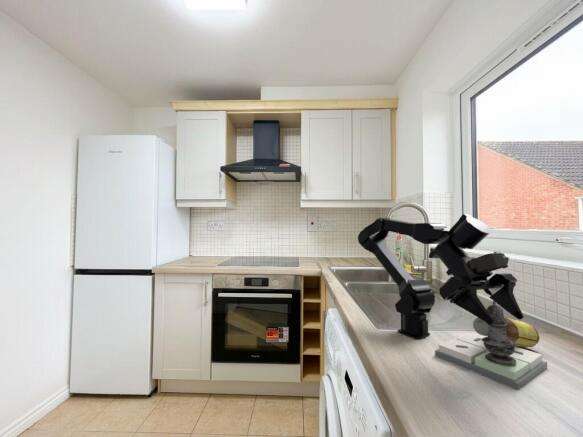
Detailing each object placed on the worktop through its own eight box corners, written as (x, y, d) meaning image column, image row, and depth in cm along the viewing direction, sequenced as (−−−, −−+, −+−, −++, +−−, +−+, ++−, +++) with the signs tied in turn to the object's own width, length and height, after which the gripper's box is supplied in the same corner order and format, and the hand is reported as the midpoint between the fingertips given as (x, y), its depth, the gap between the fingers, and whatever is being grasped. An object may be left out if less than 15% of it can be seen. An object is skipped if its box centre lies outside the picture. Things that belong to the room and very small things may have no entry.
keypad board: (435, 355, 64) (434, 343, 64) (468, 341, 72) (468, 330, 73) (517, 389, 50) (517, 374, 51) (547, 367, 59) (546, 354, 59)
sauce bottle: (517, 318, 73) (474, 304, 65) (545, 331, 67) (501, 317, 59) (507, 340, 73) (463, 329, 65) (535, 354, 67) (490, 344, 59)
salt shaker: (526, 363, 54) (518, 302, 55) (502, 366, 53) (495, 304, 54) (498, 352, 60) (492, 297, 61) (476, 355, 59) (470, 299, 60)
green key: (474, 370, 57) (474, 356, 57) (489, 362, 61) (489, 349, 61) (515, 387, 51) (514, 371, 51) (529, 376, 55) (528, 362, 55)
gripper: (449, 239, 58) (506, 304, 47) (507, 239, 64) (568, 296, 53) (421, 270, 65) (465, 333, 54) (475, 267, 71) (524, 323, 60)
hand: (507, 321), depth 55 cm, fingers open, 9 cm apart
